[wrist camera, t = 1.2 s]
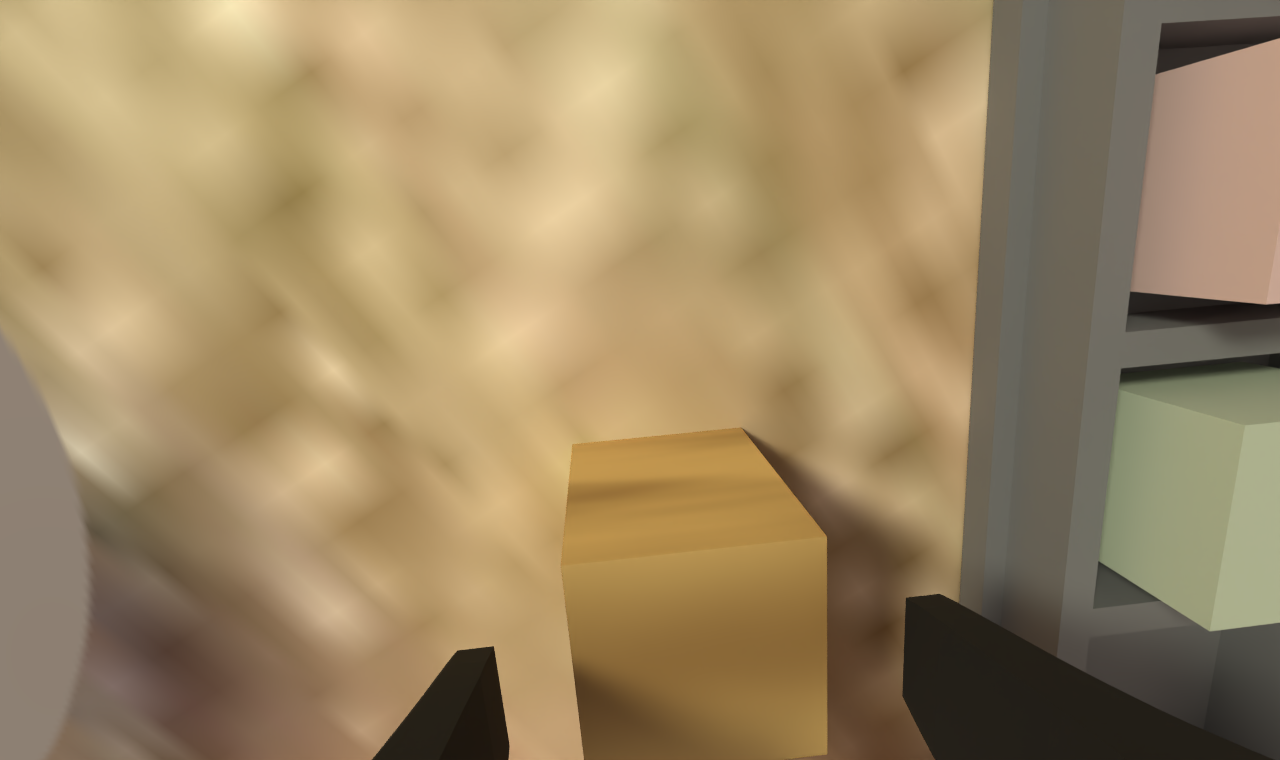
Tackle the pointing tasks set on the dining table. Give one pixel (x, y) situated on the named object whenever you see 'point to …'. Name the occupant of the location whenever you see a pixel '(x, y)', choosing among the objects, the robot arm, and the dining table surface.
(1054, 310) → the five-cell board
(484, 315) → the dining table surface
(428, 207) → the dining table surface
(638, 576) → the ochre block
